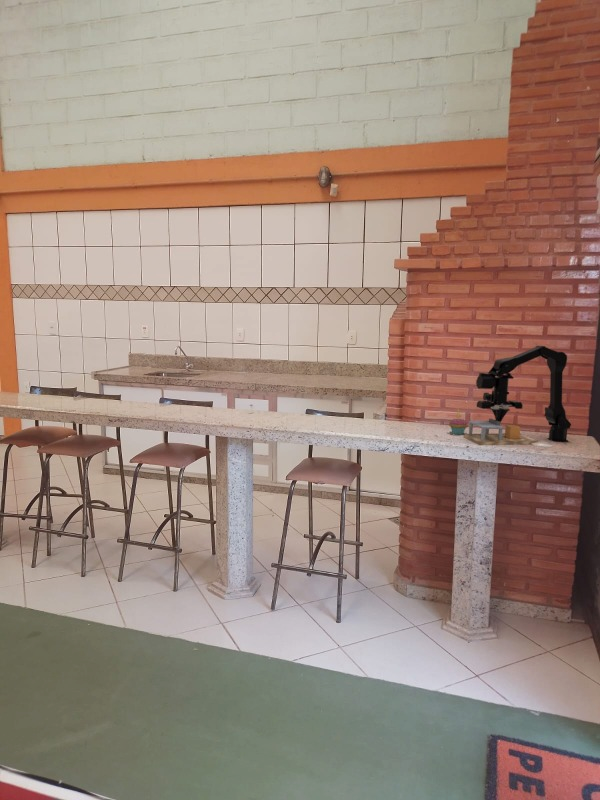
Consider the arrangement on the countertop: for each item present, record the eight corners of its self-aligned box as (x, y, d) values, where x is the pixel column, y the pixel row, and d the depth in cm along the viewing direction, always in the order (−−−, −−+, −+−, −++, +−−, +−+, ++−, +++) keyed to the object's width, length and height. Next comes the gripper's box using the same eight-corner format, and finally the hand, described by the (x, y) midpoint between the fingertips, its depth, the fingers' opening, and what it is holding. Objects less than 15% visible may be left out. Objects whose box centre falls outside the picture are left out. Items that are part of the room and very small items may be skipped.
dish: (545, 442, 250) (546, 441, 250) (557, 447, 241) (558, 445, 241) (526, 443, 249) (526, 441, 249) (538, 447, 240) (538, 446, 240)
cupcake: (446, 432, 270) (447, 406, 268) (463, 432, 270) (465, 407, 269) (452, 435, 261) (453, 409, 259) (470, 435, 262) (472, 410, 260)
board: (519, 437, 262) (519, 433, 261) (538, 444, 246) (539, 440, 246) (463, 437, 258) (463, 433, 258) (479, 445, 242) (479, 441, 242)
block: (514, 439, 255) (515, 425, 254) (519, 441, 251) (520, 427, 250) (504, 439, 255) (505, 425, 254) (509, 441, 250) (510, 427, 249)
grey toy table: (487, 433, 258) (488, 417, 257) (502, 440, 244) (503, 423, 243) (468, 434, 257) (469, 417, 256) (482, 440, 243) (483, 423, 242)
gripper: (511, 386, 258) (508, 420, 260) (472, 386, 255) (469, 420, 257) (524, 389, 247) (521, 425, 249) (483, 389, 244) (481, 425, 246)
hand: (498, 424), depth 251 cm, fingers closed
